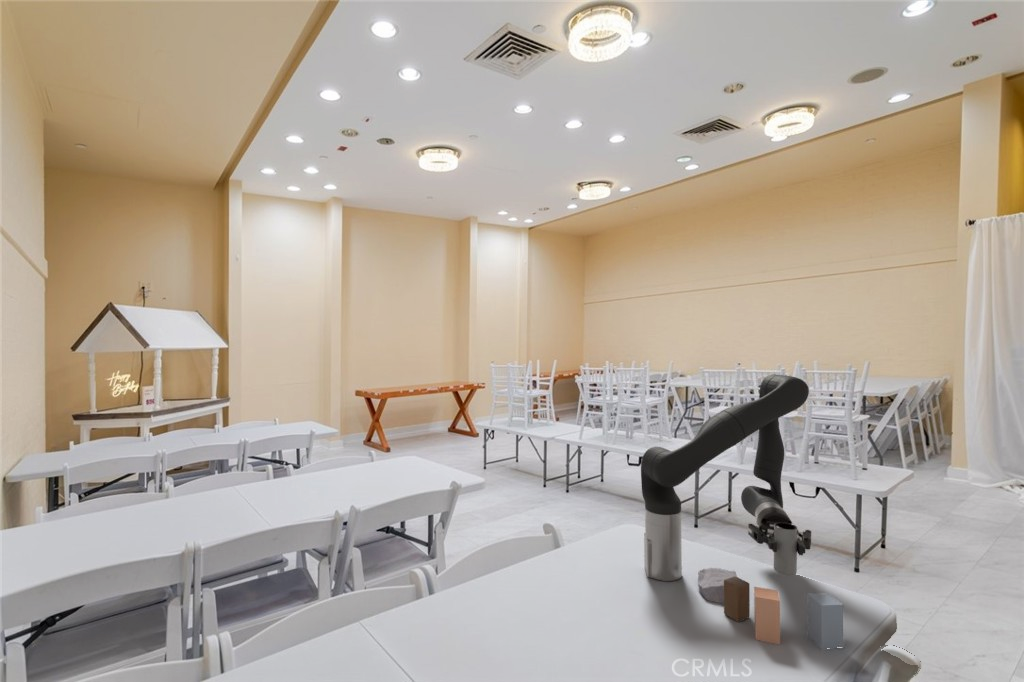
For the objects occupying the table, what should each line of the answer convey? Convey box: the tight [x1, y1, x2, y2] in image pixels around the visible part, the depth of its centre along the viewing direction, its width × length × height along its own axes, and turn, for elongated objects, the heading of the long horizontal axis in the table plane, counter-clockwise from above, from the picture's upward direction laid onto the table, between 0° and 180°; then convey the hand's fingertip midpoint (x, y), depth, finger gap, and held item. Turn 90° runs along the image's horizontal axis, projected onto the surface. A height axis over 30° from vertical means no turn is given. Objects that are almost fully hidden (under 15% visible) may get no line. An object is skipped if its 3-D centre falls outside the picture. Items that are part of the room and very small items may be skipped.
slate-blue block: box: [807, 592, 844, 650], centre depth 104 cm, size 4×4×9 cm
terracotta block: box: [753, 586, 781, 645], centre depth 106 cm, size 4×4×9 cm
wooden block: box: [723, 576, 751, 623], centre depth 114 cm, size 4×4×8 cm
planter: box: [773, 522, 798, 576], centre depth 113 cm, size 4×4×10 cm
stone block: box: [697, 567, 738, 603], centre depth 125 cm, size 12×5×10 cm
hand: (788, 549), depth 110 cm, fingers closed on planter, 4 cm apart
